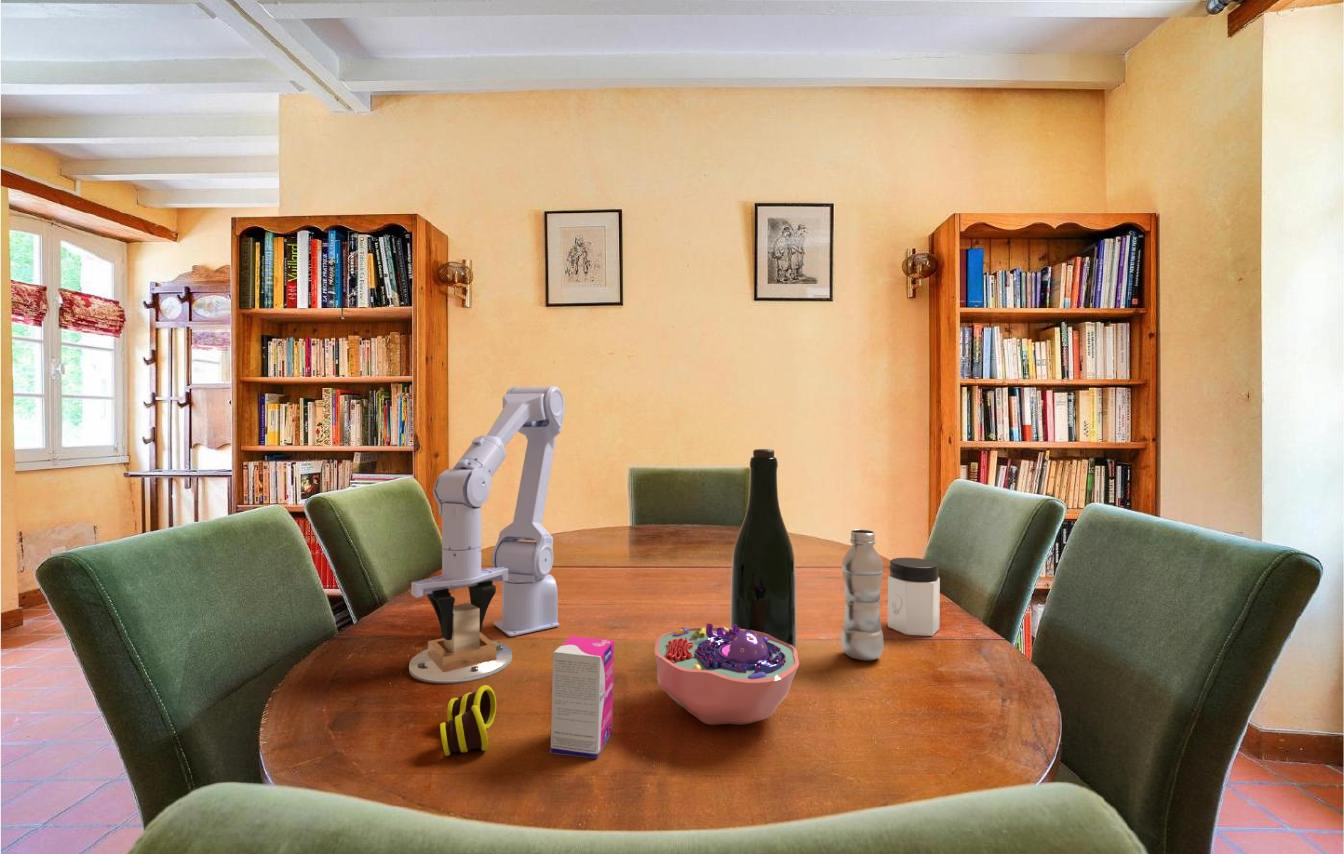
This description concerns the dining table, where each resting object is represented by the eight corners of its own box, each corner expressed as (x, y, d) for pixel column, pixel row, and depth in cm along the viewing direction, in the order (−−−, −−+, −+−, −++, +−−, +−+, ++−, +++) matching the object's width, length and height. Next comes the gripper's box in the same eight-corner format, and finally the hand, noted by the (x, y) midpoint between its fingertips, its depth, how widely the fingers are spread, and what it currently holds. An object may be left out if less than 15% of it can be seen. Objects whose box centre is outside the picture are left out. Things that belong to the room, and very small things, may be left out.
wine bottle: (745, 638, 105) (746, 447, 104) (805, 650, 99) (805, 448, 99) (719, 659, 96) (719, 449, 95) (783, 673, 90) (784, 451, 90)
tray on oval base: (492, 638, 104) (492, 621, 104) (527, 666, 92) (527, 647, 92) (398, 658, 96) (398, 639, 96) (423, 692, 83) (423, 671, 83)
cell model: (709, 671, 91) (709, 596, 91) (827, 718, 77) (827, 628, 77) (622, 708, 79) (622, 622, 79) (742, 772, 65) (742, 666, 65)
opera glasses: (457, 726, 76) (448, 688, 76) (499, 715, 77) (491, 677, 77) (441, 770, 67) (432, 726, 66) (490, 756, 68) (481, 713, 67)
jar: (878, 623, 113) (878, 559, 113) (911, 618, 116) (912, 555, 116) (914, 639, 104) (915, 569, 104) (950, 633, 108) (950, 565, 107)
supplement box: (599, 759, 67) (599, 656, 67) (549, 753, 68) (549, 652, 68) (614, 733, 73) (615, 638, 73) (568, 728, 74) (568, 634, 74)
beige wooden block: (468, 640, 97) (468, 602, 97) (479, 647, 94) (479, 608, 94) (443, 646, 94) (443, 607, 94) (454, 653, 91) (454, 613, 91)
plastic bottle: (885, 653, 98) (886, 529, 98) (881, 668, 92) (881, 536, 92) (844, 646, 101) (845, 526, 101) (837, 661, 95) (838, 533, 95)
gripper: (494, 537, 102) (494, 618, 102) (404, 549, 92) (404, 638, 92) (514, 543, 96) (514, 629, 96) (421, 556, 87) (421, 651, 87)
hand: (461, 634), depth 94 cm, fingers closed on beige wooden block, 4 cm apart
